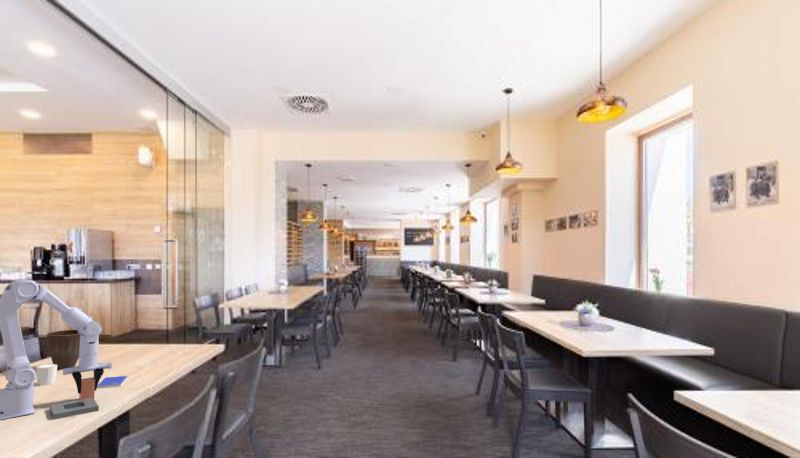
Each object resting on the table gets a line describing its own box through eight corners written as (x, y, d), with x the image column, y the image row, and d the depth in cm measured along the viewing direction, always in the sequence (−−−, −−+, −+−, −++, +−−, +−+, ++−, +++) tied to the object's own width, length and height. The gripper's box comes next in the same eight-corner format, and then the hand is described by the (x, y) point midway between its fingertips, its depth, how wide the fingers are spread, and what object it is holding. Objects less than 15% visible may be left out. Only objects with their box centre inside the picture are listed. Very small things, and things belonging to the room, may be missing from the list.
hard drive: (120, 383, 178) (127, 375, 189) (96, 385, 175) (104, 377, 186) (120, 387, 177) (127, 379, 189) (96, 389, 175) (104, 381, 186)
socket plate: (53, 419, 142) (53, 414, 142) (49, 409, 151) (50, 404, 151) (98, 410, 150) (98, 405, 150) (92, 401, 159) (92, 397, 159)
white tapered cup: (55, 379, 186) (56, 362, 186) (58, 383, 181) (58, 365, 181) (34, 383, 181) (35, 365, 181) (36, 386, 176) (37, 368, 176)
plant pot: (89, 362, 215) (91, 329, 216) (78, 370, 201) (80, 334, 202) (53, 364, 211) (54, 330, 211) (38, 372, 196) (40, 336, 197)
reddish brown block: (80, 401, 159) (81, 381, 160) (79, 398, 162) (80, 379, 162) (94, 399, 162) (95, 379, 162) (92, 396, 165) (93, 377, 165)
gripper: (65, 358, 155) (63, 398, 154) (114, 352, 165) (112, 389, 164) (62, 355, 160) (61, 393, 159) (110, 349, 170) (108, 385, 169)
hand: (86, 391), depth 162 cm, fingers closed on reddish brown block, 4 cm apart
